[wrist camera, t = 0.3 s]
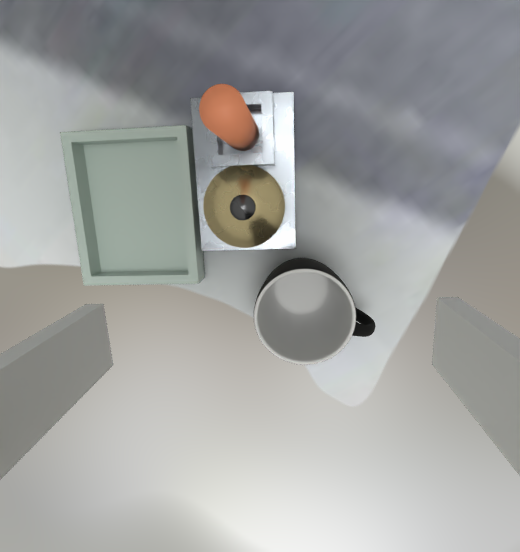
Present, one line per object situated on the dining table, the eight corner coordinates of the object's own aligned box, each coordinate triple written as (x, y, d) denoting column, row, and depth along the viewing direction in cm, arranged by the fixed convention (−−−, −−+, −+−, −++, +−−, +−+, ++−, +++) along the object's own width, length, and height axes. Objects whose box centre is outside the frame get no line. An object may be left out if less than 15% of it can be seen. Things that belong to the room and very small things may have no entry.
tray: (77, 136, 39) (60, 132, 36) (193, 130, 38) (185, 125, 35) (97, 279, 43) (83, 285, 40) (204, 277, 42) (198, 283, 39)
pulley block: (295, 244, 40) (296, 253, 35) (206, 247, 41) (194, 255, 35) (293, 98, 36) (293, 82, 31) (196, 104, 37) (181, 90, 32)
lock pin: (225, 117, 35) (197, 85, 24) (258, 115, 35) (244, 82, 24) (227, 151, 36) (200, 135, 25) (259, 150, 35) (246, 133, 25)
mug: (251, 309, 42) (239, 346, 32) (276, 238, 40) (272, 253, 30) (348, 343, 42) (365, 390, 32) (378, 273, 40) (407, 300, 30)
